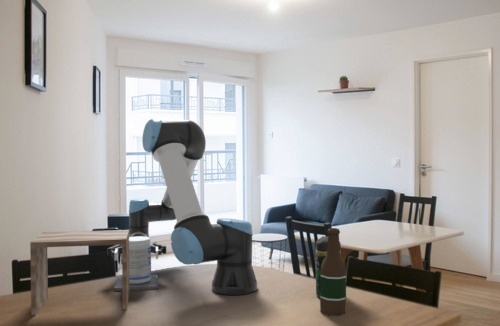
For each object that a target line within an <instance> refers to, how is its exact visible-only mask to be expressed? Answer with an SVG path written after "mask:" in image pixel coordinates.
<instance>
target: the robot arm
mask: <svg viewBox="0 0 500 326" xmlns="http://www.w3.org/2000/svg"><path fill="white" fill-rule="evenodd" d="M141 142H142V147H143V150H144V151H145V152H146V153H151V154H152V157H153V159H154V161H155V162H158V163H159V166H160V169H161V172H162V175H163V179H164V182H165V187H166V189H165V192H164V195H163V197H162V200H161V202H149V199H147V198H134V199H131V200H130V201H129V207H128V214H129V215H128V217H129V218H128V220H129V221H128V222H129V229H128V230H129V237H137V236H143V237H149V238H150V233H149V232H150V231H149V229H150V228H149V227H150V226H149V224H150V223H154V222H164V221H165V222H166V221H175V220H176V222H175V224H174V227H173V231H172V232H171V234H170V241H171V243H170V245H171V249H172V252H173V254H174V256H175V258H176V259H177V261H179V262H180V263H182V264H183V265H199V264H203V263H210V262H216V268H215V272H214V274H213V275H214V276H213V279H212V281H211V290H212V291H213V292H214V293H217V294H221V295H227V296H238V295H239V296H240V295H247V294H252V293H254V292H256V291H257V290H258V280H257V279H256V275H255V272H254V268H253V227H252V224H251V222H249V221H247V220H243V219H236V218H234V219H233V218H225V217H223V218H217V220H216V223H215V224H214V223H213V224H212V223H211V221H210V217H209V216H208V215H207V214H205V213H203V210H202V208H201V204H200V202H199V199H198V196H197V193H196V190H195V187H194V183H193V180H192V176H193V174H194V171H195V168H196V166H197V164H198V162H199V160H200V161H201V159H202V158H203V157H204V154H205V151H206V146H207V145H206V144H207V143H206V142H207V141H206V136H205V133H204V131H203V129H202V127H201V126H200V125H199V124H198V123H196V122H195V121H193V120H190V119H175V118H174V119H172V118H171V119H169V118H161V117H160V118H151V119H149V120H147V122H146V124H145V125H144V129H143V132H142V141H141ZM151 254H155V259H156V260H158V259H159V256H161V255H162V254H163V255H165V254H167V246H166V245H164V244H161V243H158V242H156V241H154V242H152V244H151ZM120 255H122V245H112V246H110V247H108V248H107V256H108V257H110V256H111V257H112V259H114V261H118V258H119V256H120Z"/></svg>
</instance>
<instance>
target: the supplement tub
mask: <svg viewBox="0 0 500 326" xmlns="http://www.w3.org/2000/svg"><path fill="white" fill-rule="evenodd" d="M151 275H152V253H151V238H150V236H149V237H143V236H137V237H129V284H141V283H146V282H148V281H150V280H151Z"/></svg>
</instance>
